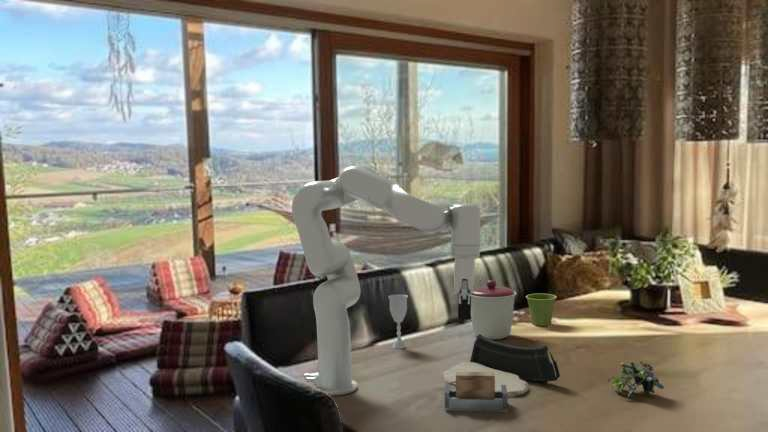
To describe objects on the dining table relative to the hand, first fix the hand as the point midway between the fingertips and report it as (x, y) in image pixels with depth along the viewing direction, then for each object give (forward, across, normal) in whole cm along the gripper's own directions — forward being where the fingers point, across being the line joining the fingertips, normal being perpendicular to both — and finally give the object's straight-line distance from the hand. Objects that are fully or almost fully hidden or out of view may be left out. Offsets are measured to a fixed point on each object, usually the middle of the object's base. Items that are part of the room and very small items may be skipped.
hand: (464, 314), depth 174 cm
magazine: (+24, -24, +14) cm, 37 cm away
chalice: (+25, -54, -24) cm, 64 cm away
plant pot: (+24, -88, +29) cm, 96 cm away
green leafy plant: (+23, -9, +46) cm, 52 cm away
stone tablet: (+24, -17, +5) cm, 30 cm away
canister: (+24, -69, +9) cm, 74 cm away
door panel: (+23, +3, +3) cm, 23 cm away
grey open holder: (+24, +3, +3) cm, 24 cm away
